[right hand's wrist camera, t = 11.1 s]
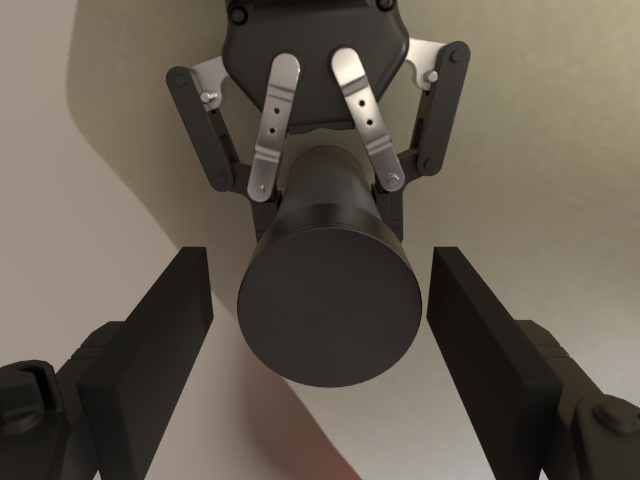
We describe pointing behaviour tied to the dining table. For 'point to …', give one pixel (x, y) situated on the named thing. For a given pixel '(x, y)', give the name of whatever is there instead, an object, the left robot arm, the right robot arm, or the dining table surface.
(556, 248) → the dining table surface
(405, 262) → the lid
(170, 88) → the left robot arm
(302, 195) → the jar
